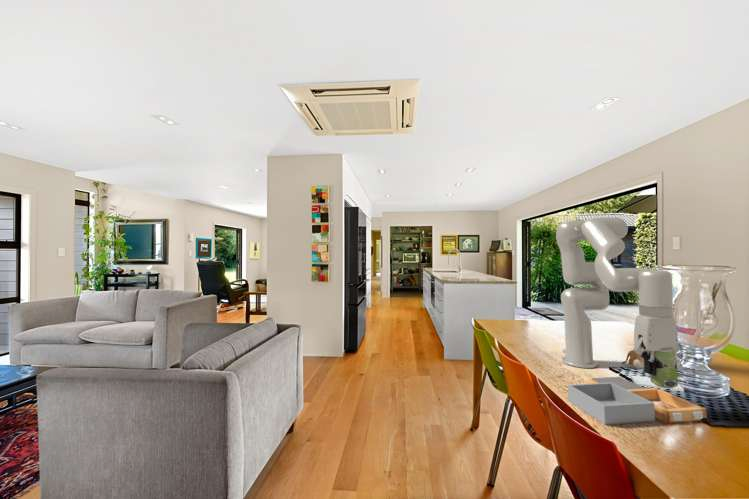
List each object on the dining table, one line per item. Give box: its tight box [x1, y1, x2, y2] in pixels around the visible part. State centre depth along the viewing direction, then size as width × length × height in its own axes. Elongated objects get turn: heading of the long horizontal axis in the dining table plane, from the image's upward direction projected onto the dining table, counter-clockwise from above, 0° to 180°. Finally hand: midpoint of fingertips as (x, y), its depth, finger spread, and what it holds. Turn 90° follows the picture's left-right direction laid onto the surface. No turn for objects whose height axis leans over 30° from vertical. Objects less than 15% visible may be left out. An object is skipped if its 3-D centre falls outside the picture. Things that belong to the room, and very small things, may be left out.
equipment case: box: [587, 376, 708, 424], centre depth 99 cm, size 29×12×3 cm, turn 4°
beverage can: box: [649, 348, 679, 389], centre depth 93 cm, size 6×7×12 cm
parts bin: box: [567, 383, 656, 426], centre depth 92 cm, size 14×14×5 cm
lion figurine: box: [621, 349, 649, 370], centre depth 124 cm, size 15×5×9 cm, turn 33°
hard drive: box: [630, 375, 685, 392], centre depth 110 cm, size 2×8×12 cm
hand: (657, 372), depth 93 cm, fingers closed on beverage can, 4 cm apart
